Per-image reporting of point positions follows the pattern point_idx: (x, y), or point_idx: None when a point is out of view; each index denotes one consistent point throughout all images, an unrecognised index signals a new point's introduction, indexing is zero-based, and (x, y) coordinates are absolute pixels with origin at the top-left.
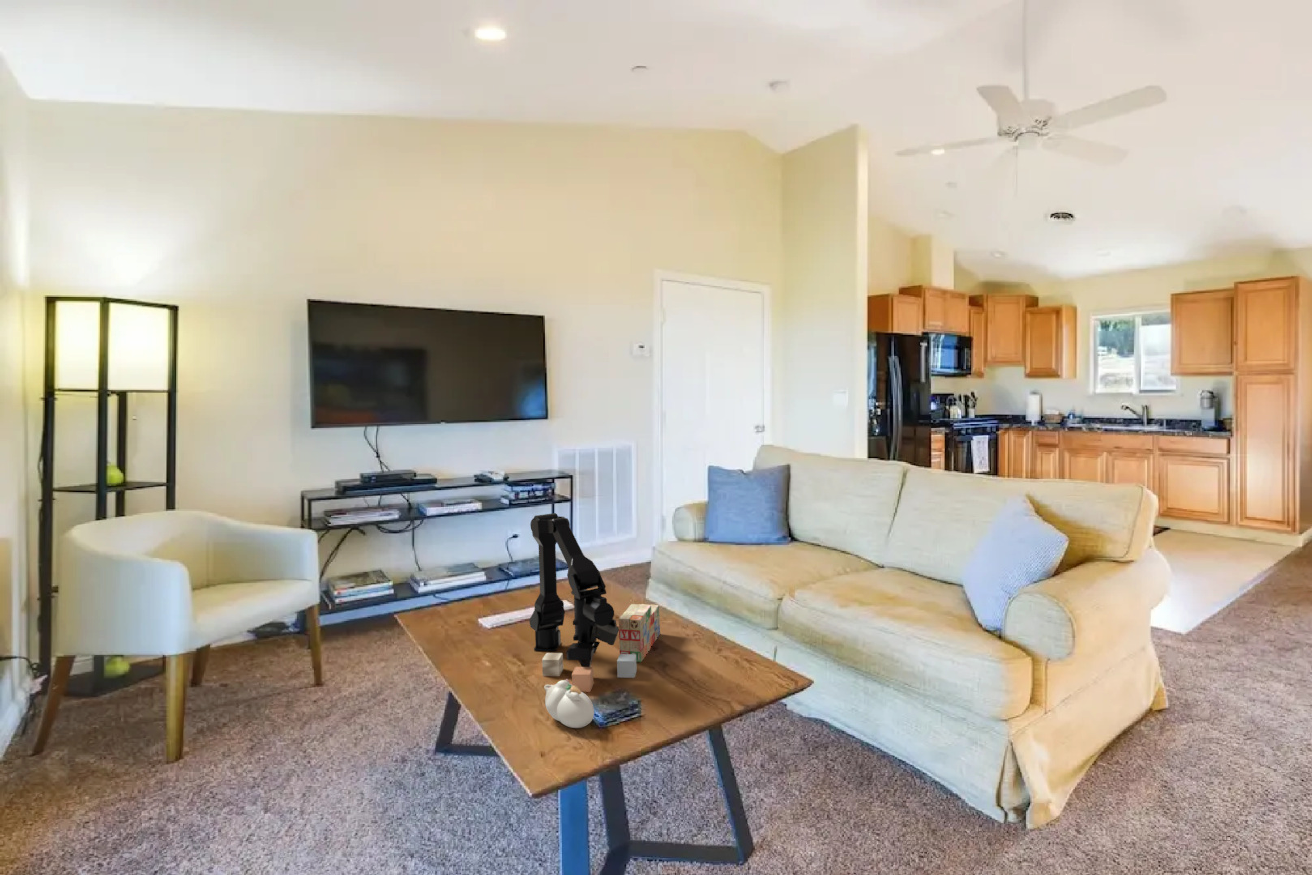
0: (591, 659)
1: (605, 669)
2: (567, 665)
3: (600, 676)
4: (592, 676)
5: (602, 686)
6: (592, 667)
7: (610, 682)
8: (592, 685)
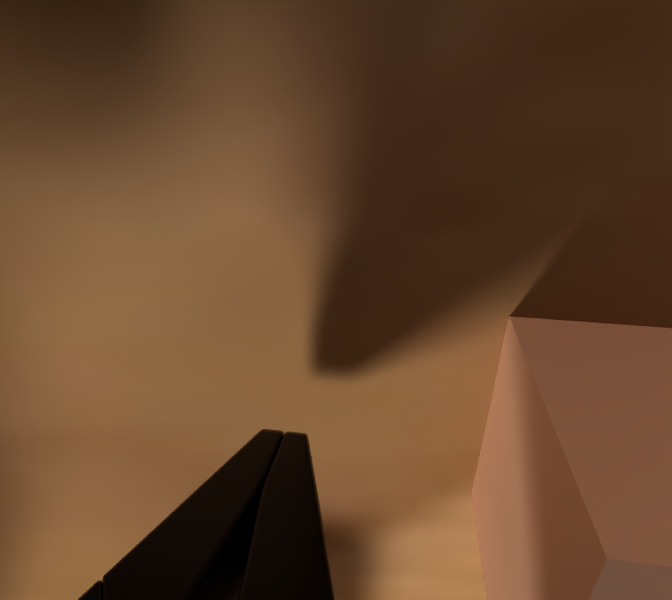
0: (161, 582)
1: (30, 201)
2: (78, 560)
3: (266, 245)
4: (622, 411)
5: (647, 165)
6: (638, 566)
7: (498, 31)
8: (583, 324)
